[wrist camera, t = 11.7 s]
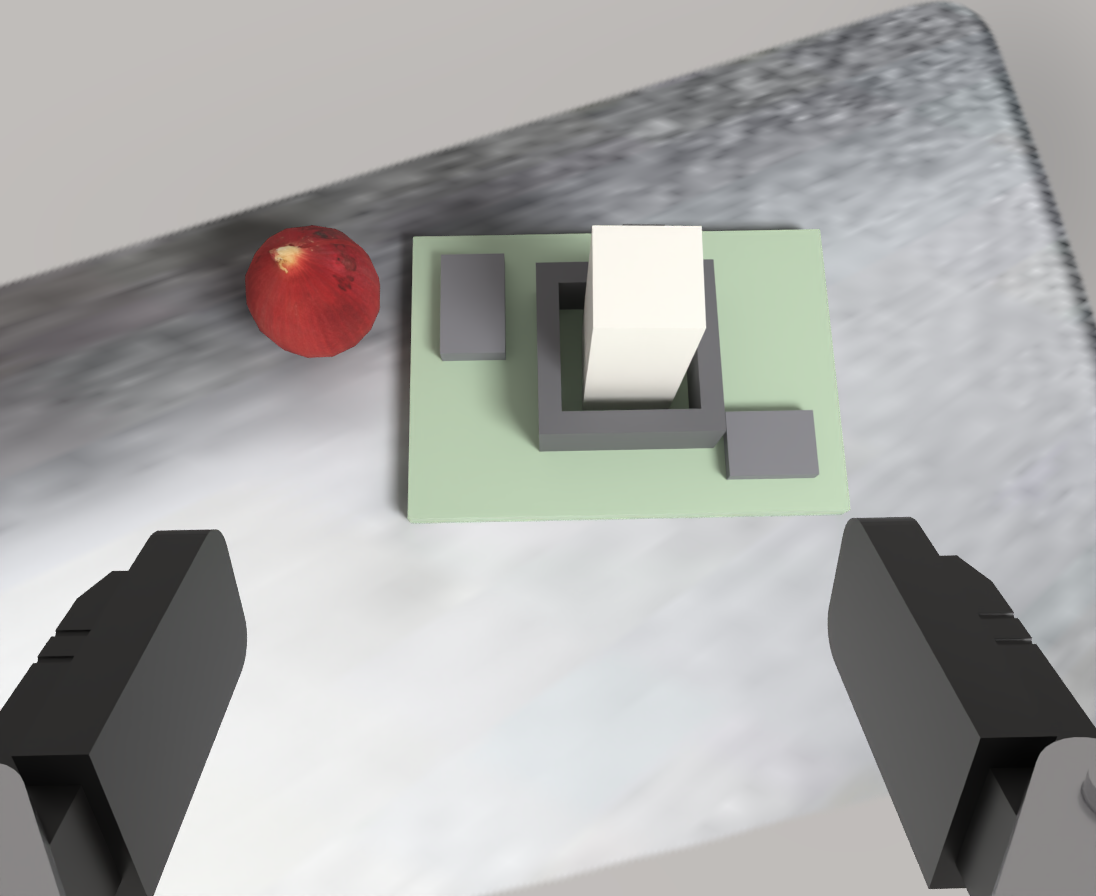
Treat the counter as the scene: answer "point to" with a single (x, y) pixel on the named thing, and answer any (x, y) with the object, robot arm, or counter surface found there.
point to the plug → (641, 314)
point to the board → (619, 435)
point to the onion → (312, 291)
